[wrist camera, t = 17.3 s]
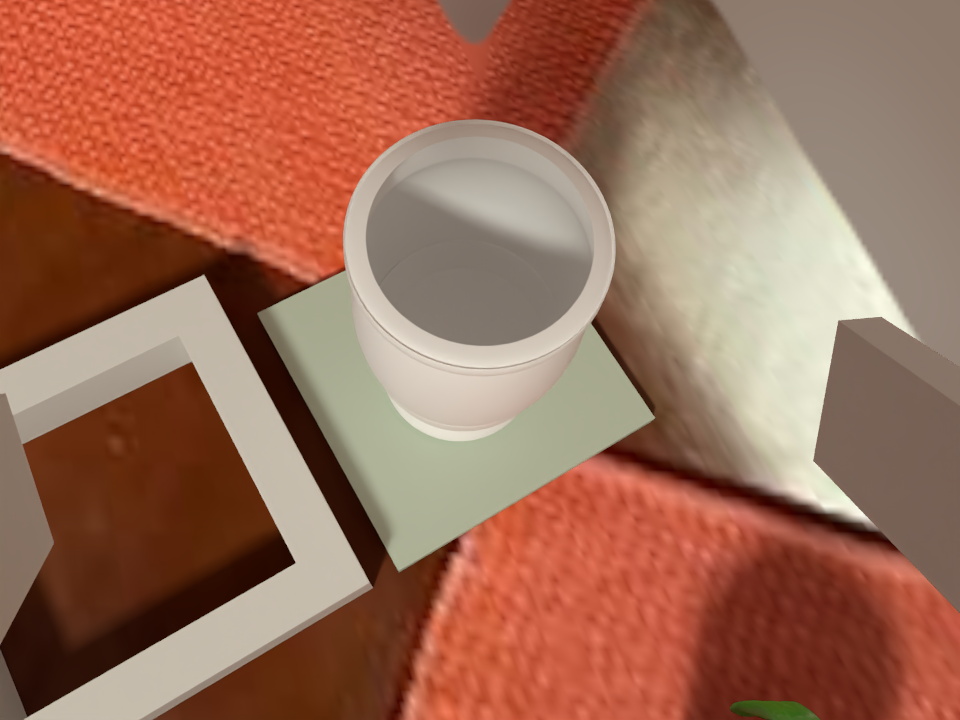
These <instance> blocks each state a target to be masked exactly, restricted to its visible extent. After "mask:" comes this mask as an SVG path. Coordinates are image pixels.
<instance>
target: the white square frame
mask: <svg viewBox="0 0 960 720" xmlns="http://www.w3.org/2000/svg"><path fill="white" fill-rule="evenodd" d="M191 361H192V362H193V364H194V366H195V368H196V370H197V372H198V374H199V376H200V378H201V380H202V382H203V383H204V385H205V387H206V389H207V391H208V393H209V395H210V397H211V399H212V401H213V403H214V405H215V407H216V409H217V411H218V413H219V415H220V416H221V418H222V420H223V422H224V424H225V426H226V428H227V430H228V432H229V434H230V436H231V438H232V440H233V442H234V444H235V446H236V448H237V449H238V451H239V453H240V455H241V457H242V459H243V461H244V463H245V465H246V467H247V469H248V471H249V473H250V475H251V477H252V479H253V481H254V482H255V484H256V486H257V488H258V490H259V492H260V494H261V496H262V498H263V500H264V502H265V504H266V506H267V508H268V510H269V512H270V514H271V515H272V517H273V519H274V521H275V523H276V525H277V527H278V529H279V531H280V533H281V535H282V537H283V539H284V541H285V543H286V545H287V547H288V548H289V550H290V552H291V554H292V556H293V558H294V560H295V562H296V563H295V564H294V565H292V566H290V567H288V568H287V569H285V570H283V571H282V572H280V573H278V574H276V575H275V576H273V577H271V578H269V579H268V580H266V581H264V582H262V583H261V584H259V585H257V586H255V587H254V588H252V589H250V590H248V591H247V592H245V593H243V594H241V595H240V596H238V597H236V598H234V599H233V600H231V601H229V602H227V603H226V604H224V605H222V606H221V607H219V608H217V609H215V610H214V611H212V612H210V613H208V614H207V615H205V616H203V617H201V618H200V619H198V620H196V621H194V622H193V623H191V624H189V625H187V626H186V627H184V628H182V629H180V630H179V631H177V632H175V633H173V634H172V635H170V636H168V637H167V638H165V639H163V640H161V641H160V642H158V643H156V644H154V645H153V646H151V647H149V648H147V649H146V650H144V651H142V652H140V653H139V654H137V655H135V656H133V657H132V658H130V659H128V660H126V661H125V662H123V663H121V664H119V665H118V666H116V667H114V668H113V669H111V670H109V671H107V672H106V673H104V674H102V675H100V676H99V677H97V678H95V679H93V680H92V681H90V682H88V683H86V684H85V685H83V686H81V687H79V688H78V689H76V690H74V691H72V692H71V693H69V694H67V695H65V696H64V697H62V698H60V699H59V700H57V701H55V702H53V703H52V704H50V705H48V706H46V707H45V708H43V709H41V710H39V711H38V712H36V713H34V714H32V715H31V716H29V717H27V715H26V712H25V710H24V707H23V705H22V702H21V700H20V697H19V695H18V692H17V690H16V687H15V685H14V682H13V680H12V677H11V675H10V672H9V670H8V667H7V665H6V662H5V660H4V657H3V655H2V652H1V650H0V720H153V719H154V718H156V717H158V716H159V715H161V714H163V713H164V712H166V711H168V710H169V709H171V708H173V707H174V706H176V705H178V704H179V703H181V702H183V701H184V700H186V699H188V698H189V697H191V696H193V695H194V694H196V693H198V692H199V691H201V690H203V689H204V688H206V687H208V686H209V685H211V684H213V683H214V682H216V681H218V680H219V679H221V678H223V677H225V676H226V675H228V674H230V673H231V672H233V671H235V670H236V669H238V668H240V667H241V666H243V665H245V664H246V663H248V662H250V661H251V660H253V659H255V658H256V657H258V656H260V655H261V654H263V653H265V652H266V651H268V650H270V649H271V648H273V647H275V646H276V645H278V644H280V643H281V642H283V641H285V640H286V639H288V638H290V637H291V636H293V635H295V634H297V633H298V632H300V631H302V630H303V629H305V628H307V627H308V626H310V625H312V624H313V623H315V622H317V621H318V620H320V619H322V618H323V617H325V616H327V615H328V614H330V613H332V612H333V611H335V610H337V609H338V608H340V607H342V606H343V605H345V604H347V603H348V602H350V601H352V600H353V599H355V598H357V597H358V596H360V595H362V594H363V593H365V592H367V591H369V590H370V589H372V588H373V587H372V585H371V583H370V582H369V580H368V578H367V576H366V574H365V572H364V570H363V569H362V567H361V565H360V563H359V561H358V559H357V557H356V556H355V554H354V552H353V550H352V548H351V546H350V544H349V543H348V541H347V539H346V537H345V535H344V533H343V531H342V529H341V528H340V526H339V524H338V522H337V520H336V518H335V516H334V515H333V513H332V511H331V509H330V507H329V505H328V503H327V502H326V500H325V498H324V496H323V494H322V492H321V490H320V489H319V487H318V485H317V483H316V481H315V479H314V477H313V476H312V474H311V472H310V470H309V468H308V466H307V464H306V463H305V461H304V459H303V457H302V455H301V453H300V451H299V450H298V448H297V446H296V444H295V442H294V440H293V438H292V436H291V435H290V433H289V431H288V429H287V427H286V425H285V423H284V422H283V420H282V418H281V416H280V414H279V412H278V410H277V409H276V407H275V405H274V403H273V401H272V399H271V397H270V396H269V394H268V392H267V390H266V388H265V386H264V384H263V383H262V381H261V379H260V377H259V375H258V373H257V371H256V370H255V368H254V366H253V364H252V362H251V360H250V358H249V356H248V355H247V353H246V351H245V349H244V347H243V345H242V343H241V342H240V340H239V338H238V336H237V334H236V332H235V330H234V329H233V327H232V325H231V323H230V321H229V319H228V317H227V316H226V314H225V312H224V310H223V308H222V306H221V304H220V303H219V301H218V299H217V297H216V295H215V294H214V292H213V290H212V288H211V286H210V285H209V283H208V281H207V279H206V277H205V276H204V275H203V276H201V277H198V278H196V279H194V280H192V281H190V282H188V283H185V284H183V285H181V286H179V287H177V288H175V289H173V290H170V291H168V292H166V293H164V294H162V295H160V296H157V297H155V298H153V299H151V300H149V301H147V302H145V303H142V304H140V305H138V306H136V307H134V308H132V309H130V310H127V311H125V312H123V313H121V314H119V315H117V316H114V317H112V318H110V319H108V320H106V321H104V322H102V323H99V324H97V325H95V326H93V327H91V328H89V329H87V330H84V331H82V332H80V333H78V334H76V335H74V336H71V337H69V338H67V339H65V340H63V341H61V342H59V343H56V344H54V345H52V346H50V347H48V348H46V349H44V350H41V351H39V352H37V353H35V354H33V355H31V356H28V357H26V358H24V359H22V360H20V361H18V362H16V363H13V364H11V365H9V366H7V367H5V368H3V369H0V394H3V393H6V396H7V399H8V402H9V405H10V408H11V411H12V415H13V418H14V421H15V424H16V427H17V430H18V433H19V436H20V439H21V442H22V444H24V443H26V442H28V441H30V440H32V439H34V438H36V437H38V436H41V435H43V434H45V433H47V432H49V431H51V430H53V429H55V428H57V427H59V426H61V425H63V424H65V423H67V422H69V421H71V420H73V419H75V418H77V417H79V416H81V415H83V414H85V413H87V412H89V411H91V410H93V409H96V408H98V407H100V406H102V405H104V404H106V403H108V402H110V401H112V400H114V399H116V398H118V397H120V396H122V395H124V394H126V393H128V392H130V391H132V390H134V389H136V388H138V387H140V386H142V385H144V384H146V383H149V382H151V381H153V380H155V379H157V378H159V377H161V376H163V375H165V374H167V373H169V372H171V371H173V370H175V369H177V368H179V367H181V366H183V365H185V364H187V363H189V362H191Z"/></svg>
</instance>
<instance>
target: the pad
mask: <svg viewBox="0 0 960 720" xmlns="http://www.w3.org/2000/svg"><path fill="white" fill-rule="evenodd" d="M257 314H258V316H259V319H260V320H261V322H262V324H263V326H264V328H265V330H266V331H267V333H268V335H269V337H270V339H271V340H272V342H273V344H274V346H275V348H276V350H277V351H278V353H279V355H280V357H281V359H282V360H283V362H284V364H285V366H286V368H287V370H288V371H289V373H290V375H291V377H292V379H293V380H294V382H295V384H296V386H297V388H298V390H299V391H300V393H301V395H302V397H303V399H304V400H305V402H306V404H307V406H308V408H309V410H310V411H311V413H312V415H313V417H314V419H315V420H316V422H317V424H318V426H319V428H320V430H321V431H322V433H323V435H324V437H325V439H326V440H327V442H328V444H329V446H330V448H331V450H332V451H333V453H334V455H335V457H336V459H337V461H338V462H339V464H340V466H341V468H342V470H343V471H344V473H345V475H346V477H347V479H348V481H349V482H350V484H351V486H352V488H353V490H354V491H355V493H356V495H357V497H358V499H359V501H360V502H361V504H362V506H363V508H364V510H365V511H366V513H367V515H368V517H369V519H370V521H371V522H372V524H373V526H374V528H375V530H376V531H377V533H378V535H379V537H380V539H381V541H382V542H383V544H384V546H385V548H386V550H387V551H388V553H389V555H390V557H391V559H392V561H393V562H394V564H395V566H396V568H397V570H398V571H399V572H400V571H402V570H404V569H405V568H407V567H409V566H410V565H412V564H414V563H415V562H417V561H419V560H420V559H422V558H424V557H425V556H427V555H429V554H430V553H432V552H434V551H435V550H437V549H439V548H441V547H442V546H444V545H446V544H447V543H449V542H451V541H452V540H454V539H456V538H457V537H459V536H461V535H462V534H464V533H466V532H467V531H469V530H471V529H472V528H474V527H476V526H477V525H479V524H481V523H482V522H484V521H486V520H487V519H489V518H491V517H492V516H494V515H496V514H497V513H499V512H501V511H502V510H504V509H506V508H507V507H509V506H511V505H513V504H514V503H516V502H518V501H519V500H521V499H523V498H524V497H526V496H528V495H529V494H531V493H533V492H534V491H536V490H538V489H539V488H541V487H543V486H544V485H546V484H548V483H549V482H551V481H553V480H554V479H556V478H558V477H559V476H561V475H563V474H564V473H566V472H568V471H569V470H571V469H573V468H574V467H576V466H578V465H579V464H581V463H583V462H584V461H586V460H588V459H590V458H591V457H593V456H595V455H596V454H598V453H600V452H601V451H603V450H605V449H606V448H608V447H610V446H611V445H613V444H615V443H616V442H618V441H620V440H621V439H623V438H625V437H626V436H628V435H630V434H631V433H633V432H635V431H636V430H638V429H640V428H641V427H643V426H645V425H646V424H648V423H650V422H651V421H652V420H653V419H654V418H655V417H654V416H653V414H652V413H651V411H650V410H649V408H648V407H647V405H646V404H645V402H644V401H643V399H642V398H641V396H640V395H639V394H638V392H637V391H636V389H635V388H634V386H633V385H632V383H631V382H630V380H629V379H628V377H627V376H626V374H625V373H624V371H623V370H622V368H621V367H620V365H619V364H618V362H617V361H616V360H615V358H614V357H613V355H612V354H611V352H610V351H609V349H608V348H607V346H606V345H605V343H604V342H603V340H602V339H601V337H600V336H599V334H598V333H597V331H596V330H595V329H594V327H593V326H592V324H591V323H590V324H589V326H588V327H587V328H586V330H585V332H584V335H583V338H582V340H581V343H580V345H579V347H578V349H577V351H576V353H575V355H574V357H573V359H572V361H571V362H570V364H569V366H568V367H567V369H566V370H565V372H564V373H563V374H562V376H561V377H560V378H559V380H558V381H557V382H556V383H555V384H554V385H553V387H552V388H551V389H550V390H549V391H548V392H547V393H546V394H544V395H543V396H542V397H541V398H540V399H539V400H537V401H536V402H535V403H534V404H532V405H531V406H529V407H528V408H526V409H525V410H523V411H522V412H521V413H519V414H518V415H517V416H516V417H515V418H514V419H513V420H512V421H511V422H510V423H509V424H508V425H506V426H505V427H504V428H502V429H501V430H499V431H497V432H495V433H493V434H491V435H489V436H487V437H484V438H480V439H476V440H471V441H447V440H442V439H438V438H435V437H432V436H429V435H427V434H425V433H423V432H421V431H419V430H418V429H416V428H415V427H413V426H412V425H411V424H409V423H408V422H407V421H406V420H405V419H404V418H403V417H402V416H401V415H400V414H399V412H398V411H397V410H396V408H395V407H394V405H393V404H392V402H391V400H390V398H389V396H388V394H387V391H386V390H385V389H384V387H383V386H382V385H381V383H380V382H379V381H378V379H377V378H376V376H375V375H374V373H373V372H372V370H371V368H370V366H369V365H368V363H367V361H366V359H365V357H364V354H363V352H362V349H361V347H360V344H359V341H358V338H357V334H356V330H355V326H354V321H353V314H352V303H351V287H350V284H349V281H348V277H347V273H346V270H345V271H343V272H341V273H339V274H337V275H335V276H333V277H331V278H329V279H326V280H324V281H322V282H320V283H318V284H316V285H314V286H312V287H310V288H308V289H306V290H304V291H302V292H300V293H298V294H296V295H294V296H291V297H289V298H287V299H285V300H283V301H281V302H279V303H277V304H275V305H273V306H271V307H269V308H267V309H265V310H263V311H261V312H259V313H257Z"/></svg>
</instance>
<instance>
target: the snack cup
mask: <svg viewBox="0 0 960 720" xmlns="http://www.w3.org/2000/svg"><path fill="white" fill-rule="evenodd" d="M730 710H731V711H732V712H733V713H736V714H738V715H740V716H747V717H751V716H757V717H760V718H763V719H766V720H820V719H819V718H818V717H817V716H816V715H815V714H814V713H813V712H812V711H810V710H809V709H807V708H806V707H805V706H803V705H801V704H800V703H797V702H794V701H779V702H777V701H756V700H751V701H741V702H736V703H734V704H732V705H731V707H730Z"/></svg>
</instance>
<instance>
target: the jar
mask: <svg viewBox="0 0 960 720" xmlns="http://www.w3.org/2000/svg"><path fill="white" fill-rule="evenodd" d="M343 248H344V261H345V268H346V273H347V277H348V281H349V284H350V287H351V303H352V314H353V321H354V326H355V330H356V334H357V338H358V341H359V344H360V347H361V349H362V352H363V354H364V357H365V359H366V361H367V363H368V365H369V366H370V368H371V370H372V372H373V373H374V375H375V376H376V378H377V379H378V381H379V382H380V383H381V385H382V386H383V387H384V389H385V390H386V391H387V394H388V396H389V398H390V400H391V402H392V404H393V405H394V407H395V408H396V410H397V411H398V412H399V414H400V415H401V416H402V417H403V418H404V419H405V420H406V421H407V422H408V423H409V424H411V425H412V426H413V427H415V428H416V429H418V430H419V431H421V432H423V433H425V434H427V435H429V436H432V437H435V438H438V439H442V440H447V441H471V440H476V439H480V438H484V437H487V436H489V435H491V434H493V433H495V432H497V431H499V430H501V429H502V428H504V427H505V426H506V425H508V424H509V423H510V422H511V421H512V420H513V419H514V418H515V417H516V416H517V415H518V414H519V413H521V412H522V411H523V410H525V409H526V408H528V407H529V406H531V405H532V404H534V403H535V402H536V401H537V400H539V399H540V398H541V397H542V396H543V395H544V394H546V393H547V392H548V391H549V390H550V389H551V388H552V387H553V385H554V384H555V383H556V382H557V381H558V380H559V378H560V377H561V376H562V374H563V373H564V372H565V370H566V369H567V367H568V366H569V364H570V362H571V361H572V359H573V357H574V355H575V353H576V351H577V349H578V347H579V345H580V343H581V340H582V338H583V335H584V332H585V330H586V328H587V327H588V326H589V324H590V323H591V322H592V320H593V319H594V317H595V316H596V314H597V312H598V311H599V309H600V307H601V305H602V303H603V300H604V298H605V296H606V293H607V291H608V288H609V285H610V282H611V279H612V275H613V270H614V264H615V234H614V228H613V223H612V219H611V215H610V212H609V209H608V206H607V204H606V202H605V199H604V197H603V195H602V193H601V191H600V190H599V188H598V186H597V185H596V183H595V182H594V180H593V179H592V177H591V176H590V175H589V173H588V172H587V171H586V170H585V169H584V167H583V166H582V165H581V164H580V163H579V162H578V161H577V160H576V159H575V158H574V157H573V156H571V155H570V154H569V153H568V152H567V151H565V150H564V149H563V148H561V147H560V146H559V145H557V144H556V143H554V142H552V141H551V140H549V139H547V138H546V137H544V136H542V135H540V134H538V133H535V132H533V131H531V130H528V129H526V128H523V127H520V126H516V125H513V124H509V123H504V122H499V121H492V120H457V121H450V122H445V123H441V124H437V125H433V126H430V127H427V128H424V129H422V130H419V131H417V132H415V133H413V134H411V135H409V136H407V137H405V138H403V139H402V140H400V141H398V142H397V143H395V144H394V145H392V146H391V147H390V148H389V149H387V150H386V151H385V152H384V153H383V154H381V155H380V156H379V157H378V158H377V159H376V160H375V161H374V163H373V164H372V165H371V166H370V167H369V168H368V170H367V171H366V172H365V174H364V175H363V177H362V178H361V180H360V181H359V183H358V185H357V187H356V189H355V191H354V193H353V195H352V197H351V200H350V203H349V206H348V209H347V213H346V217H345V223H344V232H343Z"/></svg>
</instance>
